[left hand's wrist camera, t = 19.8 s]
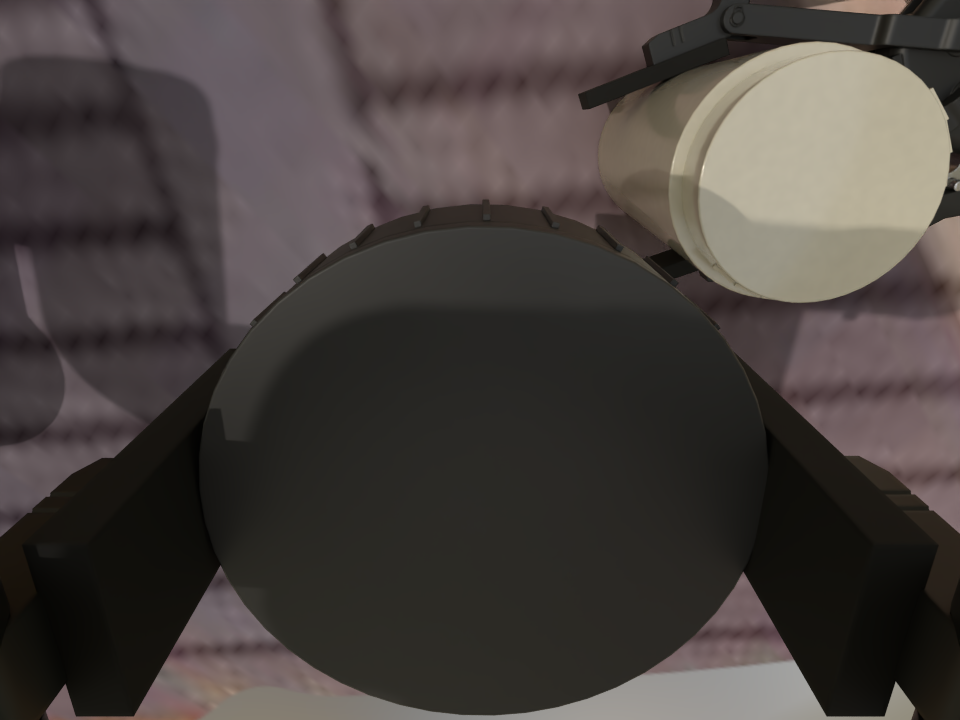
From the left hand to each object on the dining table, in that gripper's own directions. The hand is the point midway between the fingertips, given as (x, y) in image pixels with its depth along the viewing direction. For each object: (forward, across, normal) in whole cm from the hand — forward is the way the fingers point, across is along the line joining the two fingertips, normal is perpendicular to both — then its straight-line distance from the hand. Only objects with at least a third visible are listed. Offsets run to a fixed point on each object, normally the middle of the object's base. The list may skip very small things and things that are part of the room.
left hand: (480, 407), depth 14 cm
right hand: (+20, +7, +2) cm, 22 cm away
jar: (+27, +11, +4) cm, 29 cm away
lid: (-4, 0, 0) cm, 4 cm away
